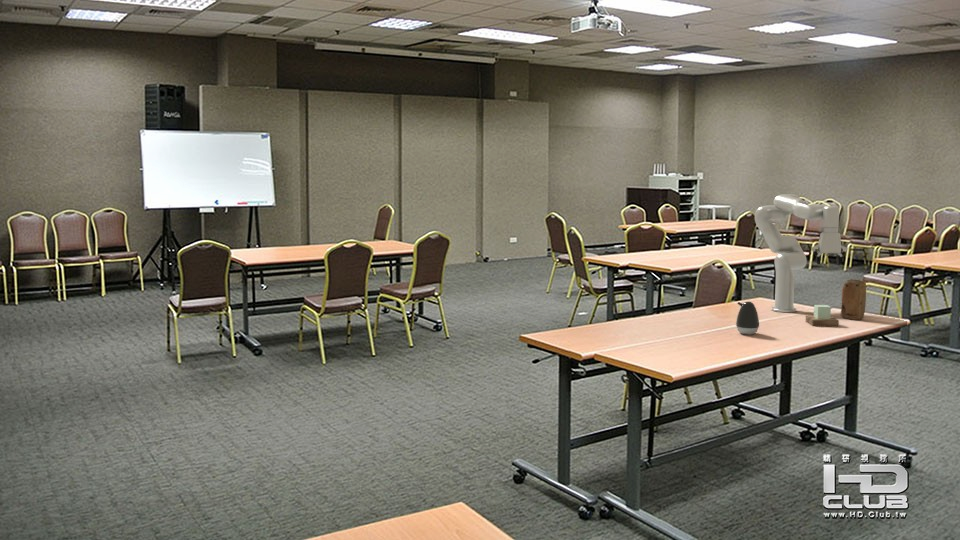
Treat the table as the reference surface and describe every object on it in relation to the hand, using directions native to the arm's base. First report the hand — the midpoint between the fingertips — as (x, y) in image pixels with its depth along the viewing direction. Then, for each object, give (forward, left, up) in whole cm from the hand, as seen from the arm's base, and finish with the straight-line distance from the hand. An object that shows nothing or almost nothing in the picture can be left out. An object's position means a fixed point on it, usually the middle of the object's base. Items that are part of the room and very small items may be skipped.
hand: (828, 264), depth 402 cm
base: (+13, -6, -28) cm, 32 cm away
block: (-3, +14, -28) cm, 32 cm away
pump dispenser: (+40, -48, -28) cm, 69 cm away
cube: (+13, -6, -25) cm, 29 cm away
